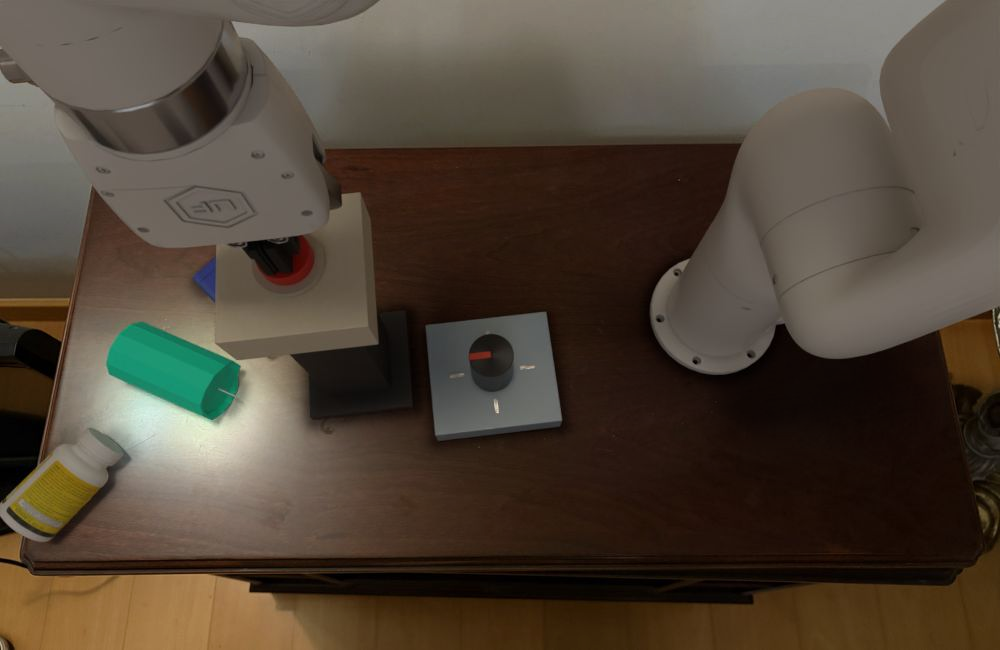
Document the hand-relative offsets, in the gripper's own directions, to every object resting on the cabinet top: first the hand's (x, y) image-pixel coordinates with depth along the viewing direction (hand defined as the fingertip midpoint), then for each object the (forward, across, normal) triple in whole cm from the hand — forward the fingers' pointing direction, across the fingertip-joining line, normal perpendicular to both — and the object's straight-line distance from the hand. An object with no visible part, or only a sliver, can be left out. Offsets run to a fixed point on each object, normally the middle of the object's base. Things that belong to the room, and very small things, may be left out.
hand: (280, 253), depth 46 cm
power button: (+2, 0, 0) cm, 2 cm away
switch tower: (+27, 0, 0) cm, 27 cm away
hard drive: (+26, -9, +9) cm, 29 cm away
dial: (+24, +13, -3) cm, 27 cm away
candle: (+24, -22, +4) cm, 33 cm away
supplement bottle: (+24, -31, -12) cm, 41 cm away
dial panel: (+27, +13, -3) cm, 30 cm away
